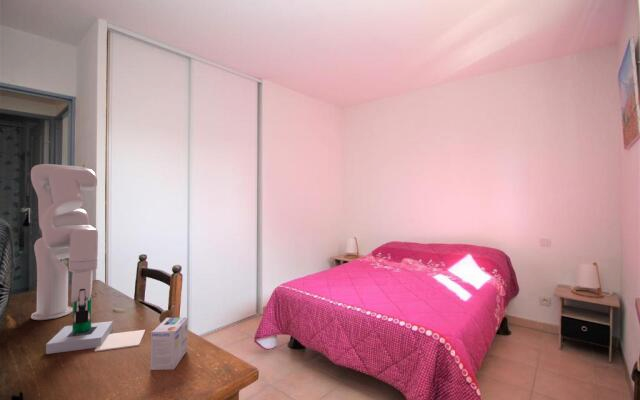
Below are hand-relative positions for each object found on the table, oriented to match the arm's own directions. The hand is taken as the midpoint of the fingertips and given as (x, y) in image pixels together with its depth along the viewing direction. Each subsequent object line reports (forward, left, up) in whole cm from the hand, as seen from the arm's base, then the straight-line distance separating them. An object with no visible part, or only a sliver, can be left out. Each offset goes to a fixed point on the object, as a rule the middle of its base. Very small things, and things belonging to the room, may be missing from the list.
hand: (82, 319), depth 103 cm
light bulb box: (+23, +28, -7) cm, 37 cm away
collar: (0, 0, -7) cm, 7 cm away
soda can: (0, 0, -4) cm, 4 cm away
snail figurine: (+9, +26, -7) cm, 29 cm away
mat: (+4, +12, -7) cm, 15 cm away
